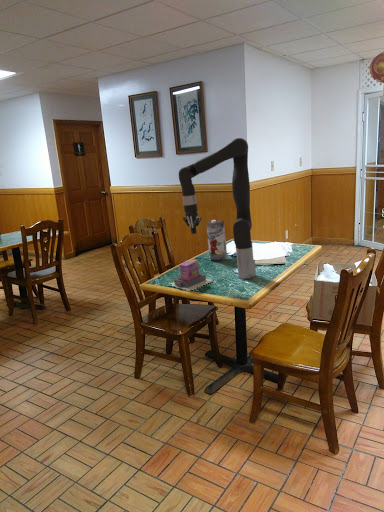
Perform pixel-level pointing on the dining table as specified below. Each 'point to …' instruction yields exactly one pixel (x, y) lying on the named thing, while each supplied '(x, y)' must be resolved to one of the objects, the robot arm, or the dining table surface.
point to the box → (189, 270)
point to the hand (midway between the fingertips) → (193, 233)
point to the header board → (191, 282)
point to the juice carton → (216, 240)
